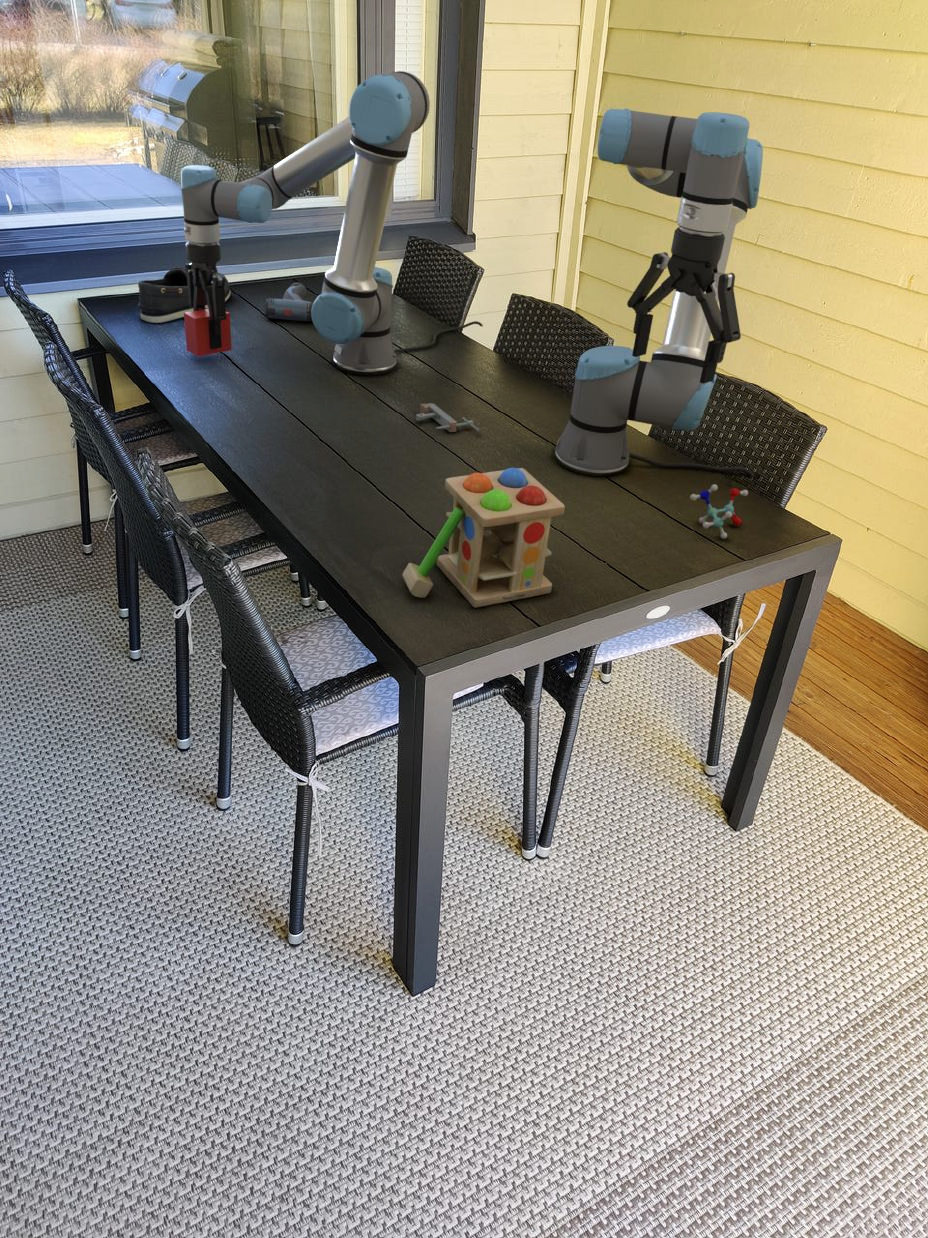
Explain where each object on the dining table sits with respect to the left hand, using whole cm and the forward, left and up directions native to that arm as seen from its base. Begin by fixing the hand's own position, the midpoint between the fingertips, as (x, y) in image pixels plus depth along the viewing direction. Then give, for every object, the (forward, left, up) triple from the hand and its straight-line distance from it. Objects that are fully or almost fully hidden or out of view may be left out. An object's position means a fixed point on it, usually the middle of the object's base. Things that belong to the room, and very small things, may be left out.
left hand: (209, 343), depth 232 cm
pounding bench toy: (+18, +110, -3) cm, 112 cm away
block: (0, 0, -2) cm, 2 cm away
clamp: (-21, +60, -3) cm, 64 cm away
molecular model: (-33, +122, -3) cm, 127 cm away
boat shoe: (-14, -36, -3) cm, 39 cm away
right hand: (-16, +117, +29) cm, 122 cm away
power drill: (-39, -17, -3) cm, 43 cm away
